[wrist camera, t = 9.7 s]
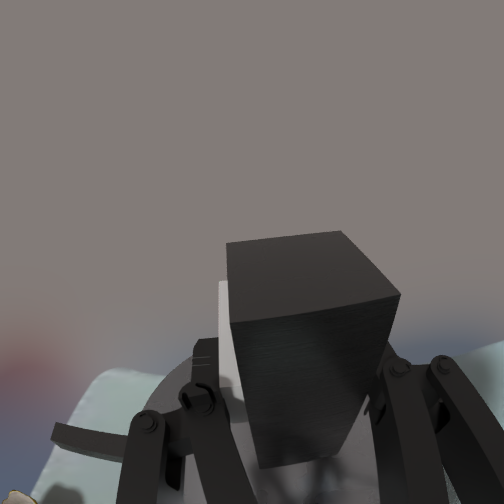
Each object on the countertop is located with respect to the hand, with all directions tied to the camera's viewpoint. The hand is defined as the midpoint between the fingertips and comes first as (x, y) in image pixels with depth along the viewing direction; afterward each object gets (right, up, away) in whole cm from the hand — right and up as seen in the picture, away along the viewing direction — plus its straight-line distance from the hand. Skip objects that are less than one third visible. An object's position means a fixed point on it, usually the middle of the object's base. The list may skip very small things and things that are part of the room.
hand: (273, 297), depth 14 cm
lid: (+1, -9, -2) cm, 9 cm away
